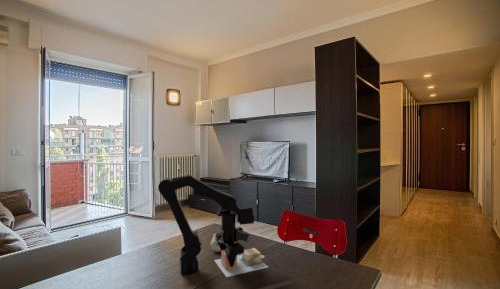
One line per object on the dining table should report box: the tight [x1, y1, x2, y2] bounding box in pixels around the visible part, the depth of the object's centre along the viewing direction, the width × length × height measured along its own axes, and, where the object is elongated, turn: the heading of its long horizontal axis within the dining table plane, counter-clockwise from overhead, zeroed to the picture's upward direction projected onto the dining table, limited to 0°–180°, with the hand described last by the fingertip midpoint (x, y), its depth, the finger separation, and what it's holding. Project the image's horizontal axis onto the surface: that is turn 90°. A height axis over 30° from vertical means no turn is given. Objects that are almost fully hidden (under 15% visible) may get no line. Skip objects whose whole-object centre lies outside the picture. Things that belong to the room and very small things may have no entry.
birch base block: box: [241, 247, 262, 265], centre depth 112 cm, size 6×6×4 cm
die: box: [210, 233, 221, 253], centre depth 125 cm, size 8×9×10 cm
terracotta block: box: [220, 249, 237, 270], centre depth 108 cm, size 5×5×6 cm
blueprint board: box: [214, 254, 269, 278], centre depth 110 cm, size 18×16×1 cm
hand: (229, 263), depth 108 cm, fingers open, 6 cm apart
